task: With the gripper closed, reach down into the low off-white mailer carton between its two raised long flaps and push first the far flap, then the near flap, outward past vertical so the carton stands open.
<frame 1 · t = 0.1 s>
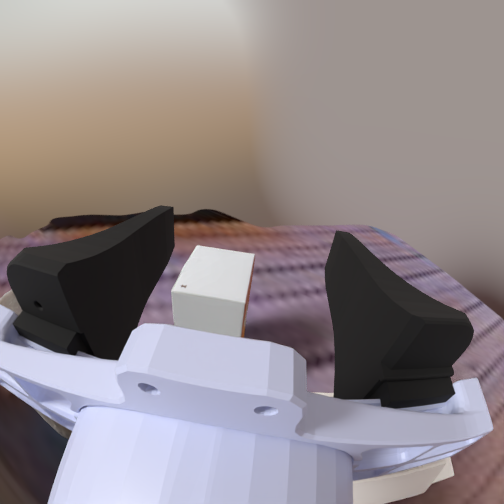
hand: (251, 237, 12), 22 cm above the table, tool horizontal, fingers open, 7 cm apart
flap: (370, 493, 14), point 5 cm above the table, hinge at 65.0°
small box: (214, 360, 32), on the table
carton: (346, 458, 21), on the table
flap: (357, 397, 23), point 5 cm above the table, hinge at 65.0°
pillar candle: (82, 406, 22), on the table
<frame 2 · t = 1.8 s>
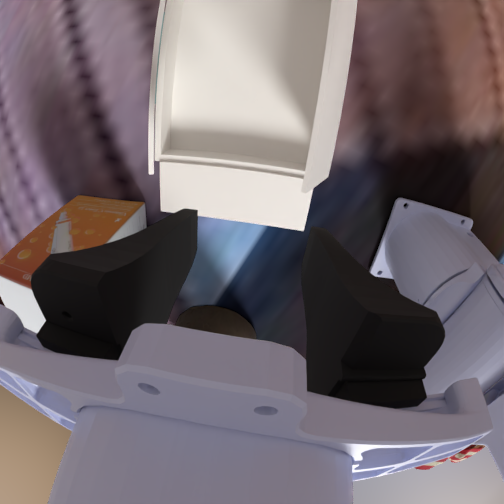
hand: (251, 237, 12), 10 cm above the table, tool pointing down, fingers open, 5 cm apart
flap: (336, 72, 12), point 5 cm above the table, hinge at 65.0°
small box: (113, 224, 25), on the table
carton: (250, 64, 16), on the table
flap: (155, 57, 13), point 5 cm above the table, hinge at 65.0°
pillar candle: (216, 332, 32), on the table
gift box: (420, 362, 33), on the table
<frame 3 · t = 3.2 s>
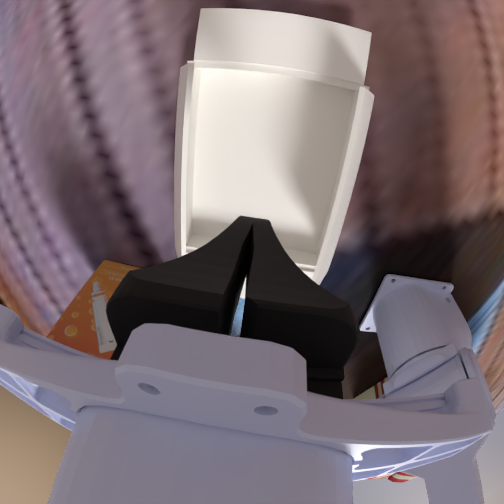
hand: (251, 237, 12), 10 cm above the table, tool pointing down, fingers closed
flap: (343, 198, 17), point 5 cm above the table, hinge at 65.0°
small box: (139, 285, 29), on the table
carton: (265, 164, 21), on the table
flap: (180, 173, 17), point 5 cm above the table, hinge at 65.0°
gift box: (405, 388, 38), on the table
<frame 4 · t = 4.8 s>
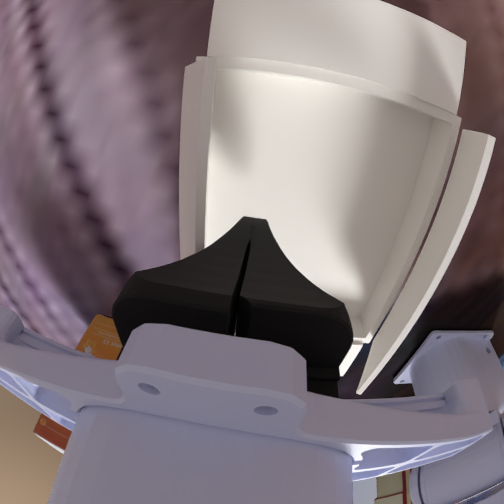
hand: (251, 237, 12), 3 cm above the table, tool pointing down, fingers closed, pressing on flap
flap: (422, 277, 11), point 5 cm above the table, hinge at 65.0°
small box: (140, 342, 24), on the table
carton: (308, 213, 15), on the table
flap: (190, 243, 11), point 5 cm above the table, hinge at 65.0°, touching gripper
gift box: (426, 420, 32), on the table
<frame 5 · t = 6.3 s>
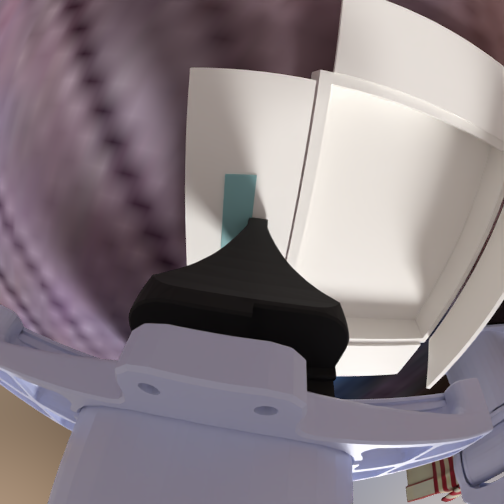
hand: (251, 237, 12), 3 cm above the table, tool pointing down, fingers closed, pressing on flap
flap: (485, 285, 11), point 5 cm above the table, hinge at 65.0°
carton: (388, 229, 15), on the table
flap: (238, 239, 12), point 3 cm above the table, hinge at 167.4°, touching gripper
gift box: (446, 409, 33), on the table
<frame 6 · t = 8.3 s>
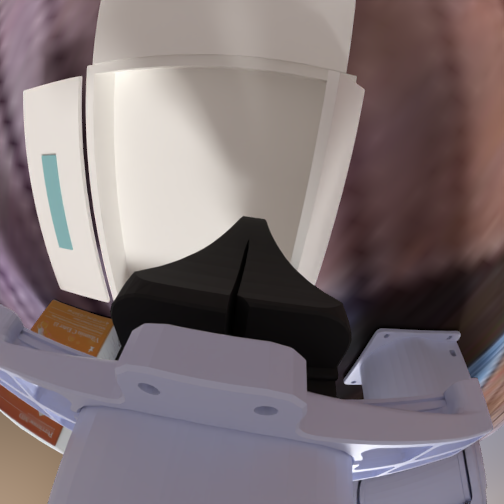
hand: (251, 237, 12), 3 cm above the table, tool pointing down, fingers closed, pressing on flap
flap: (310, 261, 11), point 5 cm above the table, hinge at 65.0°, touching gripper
small box: (91, 327, 24), on the table
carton: (207, 198, 15), on the table
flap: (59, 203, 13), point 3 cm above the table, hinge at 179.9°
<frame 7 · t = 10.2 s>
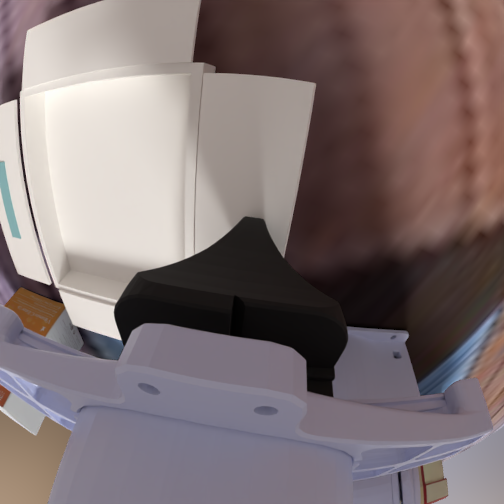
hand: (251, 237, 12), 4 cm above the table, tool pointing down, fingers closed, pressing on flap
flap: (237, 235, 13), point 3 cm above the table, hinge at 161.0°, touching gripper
small box: (51, 313, 24), on the table
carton: (114, 191, 16), on the table
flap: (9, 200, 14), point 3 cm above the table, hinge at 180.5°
gift box: (365, 429, 32), on the table
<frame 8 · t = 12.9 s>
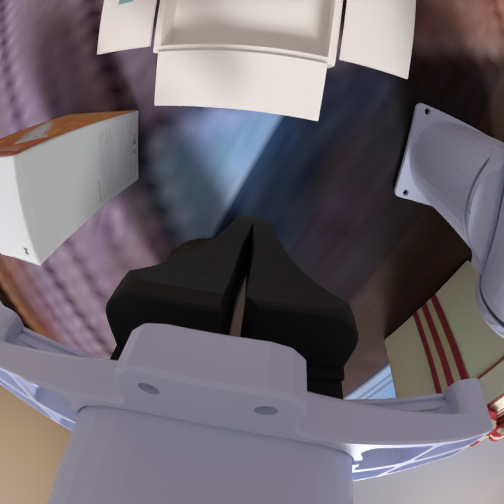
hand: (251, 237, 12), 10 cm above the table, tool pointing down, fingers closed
small box: (102, 143, 21), on the table
pillar candle: (213, 279, 28), on the table
gift box: (447, 327, 29), on the table
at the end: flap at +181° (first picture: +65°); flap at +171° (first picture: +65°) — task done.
